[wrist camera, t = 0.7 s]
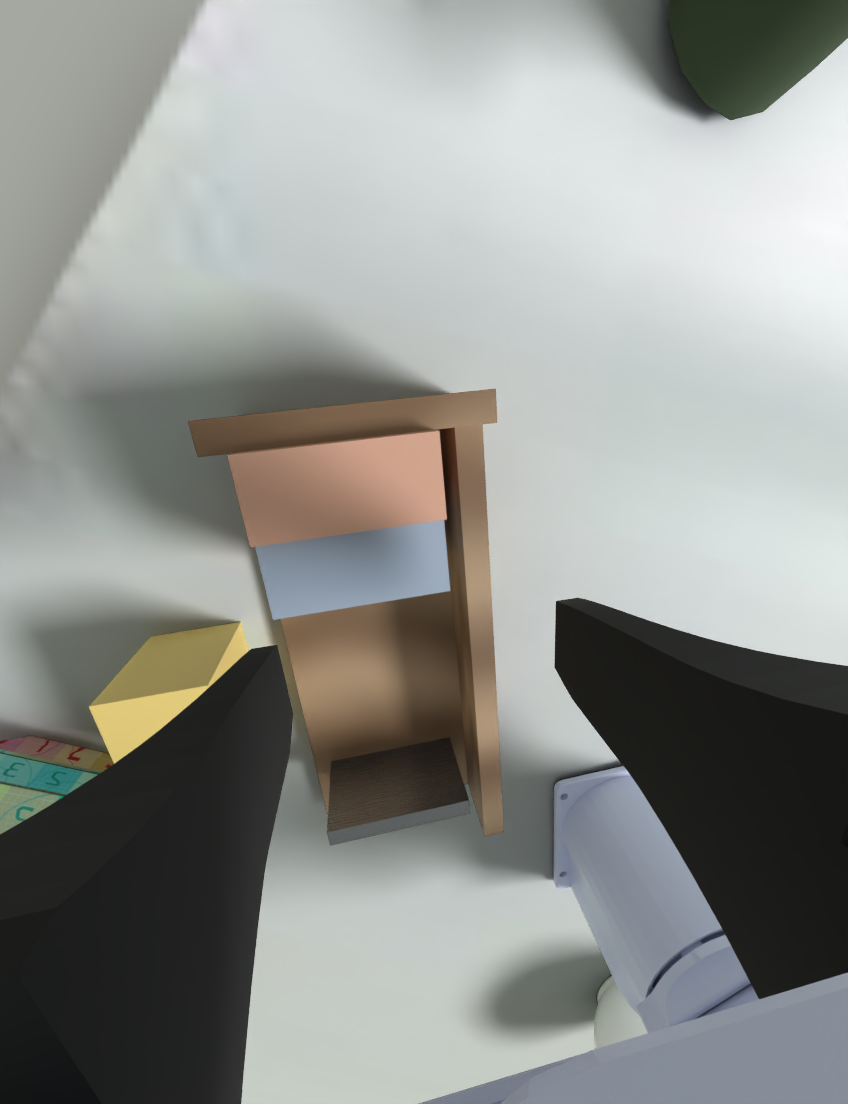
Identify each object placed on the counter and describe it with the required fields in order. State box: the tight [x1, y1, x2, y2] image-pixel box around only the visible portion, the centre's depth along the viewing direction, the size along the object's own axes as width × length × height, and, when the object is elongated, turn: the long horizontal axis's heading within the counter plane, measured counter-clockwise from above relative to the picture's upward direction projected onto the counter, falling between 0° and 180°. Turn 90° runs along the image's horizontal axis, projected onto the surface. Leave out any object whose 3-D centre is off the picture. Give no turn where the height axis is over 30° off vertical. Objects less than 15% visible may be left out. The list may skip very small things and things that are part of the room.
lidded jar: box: [594, 975, 648, 1049], centre depth 31 cm, size 11×11×9 cm
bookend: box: [327, 737, 470, 845], centre depth 21 cm, size 4×6×4 cm, turn 96°
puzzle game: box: [0, 736, 114, 834], centre depth 21 cm, size 12×5×20 cm
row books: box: [227, 430, 450, 620], centre depth 16 cm, size 5×6×6 cm
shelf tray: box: [188, 389, 504, 836], centre depth 19 cm, size 21×9×6 cm, turn 6°
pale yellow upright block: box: [89, 622, 249, 763], centre depth 18 cm, size 4×6×5 cm, turn 6°
